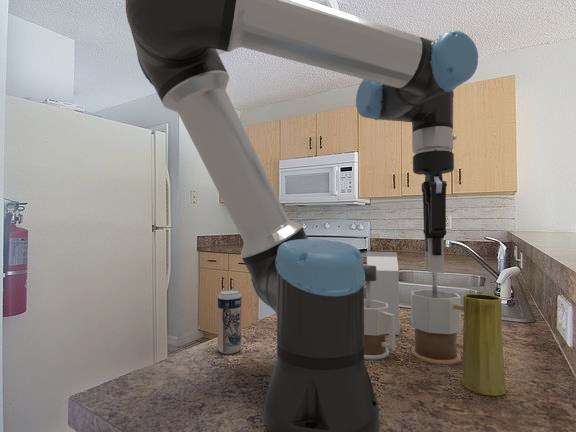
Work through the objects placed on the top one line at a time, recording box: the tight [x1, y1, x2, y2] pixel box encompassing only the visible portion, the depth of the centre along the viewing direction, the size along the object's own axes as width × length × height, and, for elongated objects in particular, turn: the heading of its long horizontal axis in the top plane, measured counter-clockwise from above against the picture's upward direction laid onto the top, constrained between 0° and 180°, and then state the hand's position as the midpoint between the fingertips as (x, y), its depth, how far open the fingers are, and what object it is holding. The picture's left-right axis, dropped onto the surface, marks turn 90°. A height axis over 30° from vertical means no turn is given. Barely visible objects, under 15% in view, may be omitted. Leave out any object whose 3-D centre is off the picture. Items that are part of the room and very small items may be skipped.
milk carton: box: [366, 251, 400, 336], centre depth 83 cm, size 7×7×19 cm
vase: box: [461, 292, 507, 397], centre depth 54 cm, size 6×6×14 cm
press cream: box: [363, 264, 396, 361], centre depth 68 cm, size 8×10×17 cm
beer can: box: [217, 289, 242, 355], centre depth 70 cm, size 5×5×12 cm
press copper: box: [410, 289, 464, 366], centre depth 66 cm, size 9×12×12 cm
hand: (434, 270), depth 67 cm, fingers closed on plunger, 3 cm apart
